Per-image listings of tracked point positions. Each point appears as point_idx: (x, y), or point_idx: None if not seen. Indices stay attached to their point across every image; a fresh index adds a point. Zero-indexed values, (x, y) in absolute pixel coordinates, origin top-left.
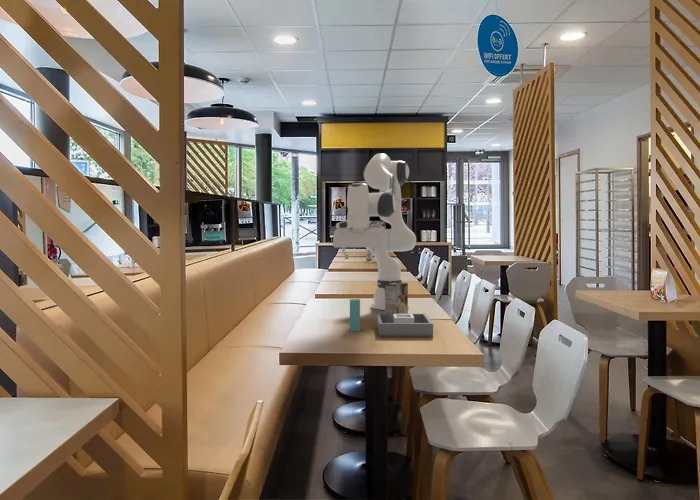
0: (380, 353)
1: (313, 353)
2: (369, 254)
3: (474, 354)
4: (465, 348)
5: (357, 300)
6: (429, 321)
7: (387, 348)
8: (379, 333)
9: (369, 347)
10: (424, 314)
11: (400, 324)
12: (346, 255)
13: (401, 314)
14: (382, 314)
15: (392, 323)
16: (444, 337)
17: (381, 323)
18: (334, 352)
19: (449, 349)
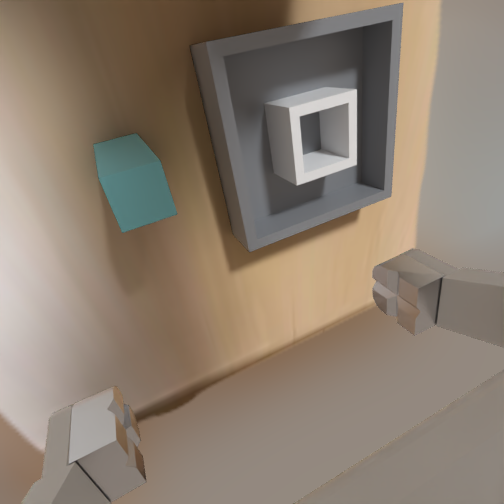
0: (257, 356)
1: None
2: (427, 292)
3: None
4: None
5: (161, 210)
6: (388, 167)
7: (266, 321)
8: (237, 238)
9: (227, 332)
10: (396, 30)
11: (308, 227)
12: (115, 486)
13: (319, 110)
14: (234, 53)
15: (287, 233)
16: None
17: (255, 246)
18: (162, 396)
19: None
